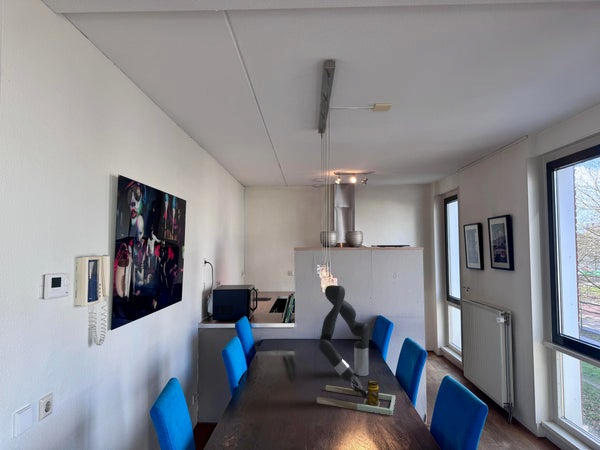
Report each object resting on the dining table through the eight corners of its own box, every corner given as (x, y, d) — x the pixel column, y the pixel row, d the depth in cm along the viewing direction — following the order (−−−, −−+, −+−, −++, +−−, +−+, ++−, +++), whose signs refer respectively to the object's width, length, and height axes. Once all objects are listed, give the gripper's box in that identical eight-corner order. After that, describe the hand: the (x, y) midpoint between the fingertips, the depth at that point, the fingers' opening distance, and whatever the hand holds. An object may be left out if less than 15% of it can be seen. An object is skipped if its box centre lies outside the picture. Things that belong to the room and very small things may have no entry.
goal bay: (363, 395, 193) (363, 390, 193) (395, 400, 187) (395, 395, 187) (357, 409, 176) (357, 404, 176) (392, 415, 169) (392, 410, 170)
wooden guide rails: (326, 389, 201) (326, 385, 201) (363, 395, 193) (363, 390, 193) (316, 402, 183) (316, 398, 184) (357, 409, 176) (357, 404, 176)
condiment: (378, 408, 177) (378, 384, 178) (362, 405, 180) (362, 382, 181) (380, 402, 184) (380, 379, 185) (364, 399, 187) (364, 377, 188)
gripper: (346, 369, 182) (369, 396, 176) (351, 361, 194) (373, 387, 189) (336, 378, 183) (359, 405, 178) (342, 370, 195) (363, 395, 190)
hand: (366, 396), depth 183 cm, fingers closed
